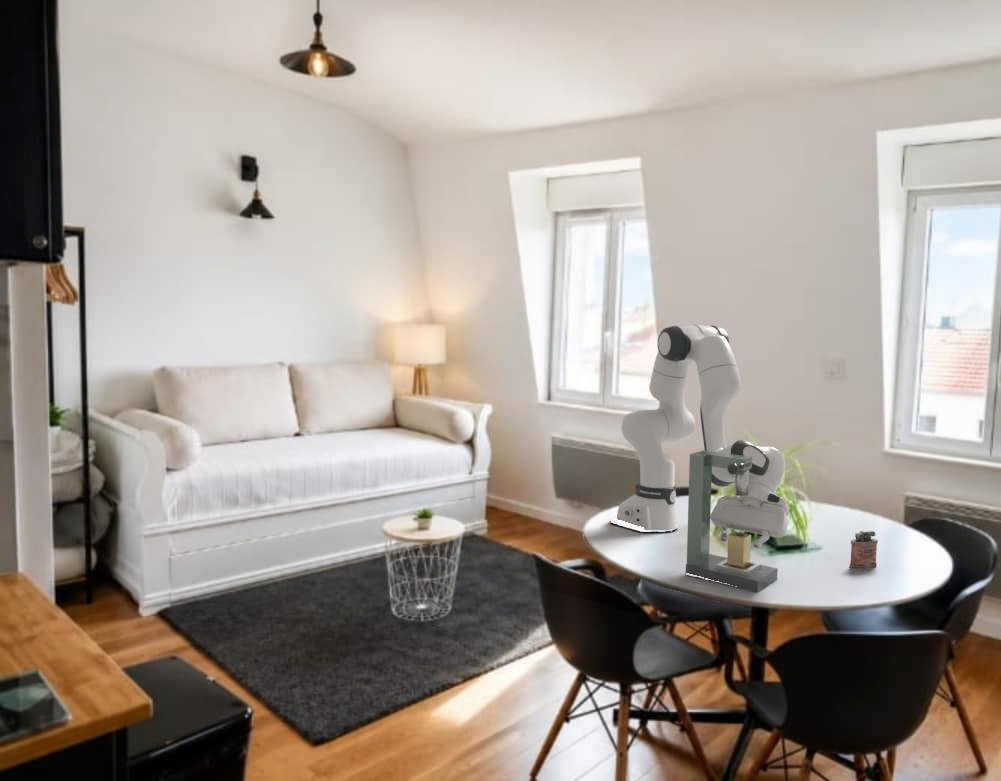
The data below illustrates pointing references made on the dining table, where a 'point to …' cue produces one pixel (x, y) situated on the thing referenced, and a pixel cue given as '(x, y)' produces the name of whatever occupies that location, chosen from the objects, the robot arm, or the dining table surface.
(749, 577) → the press
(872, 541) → the lighter
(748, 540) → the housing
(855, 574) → the dining table surface
